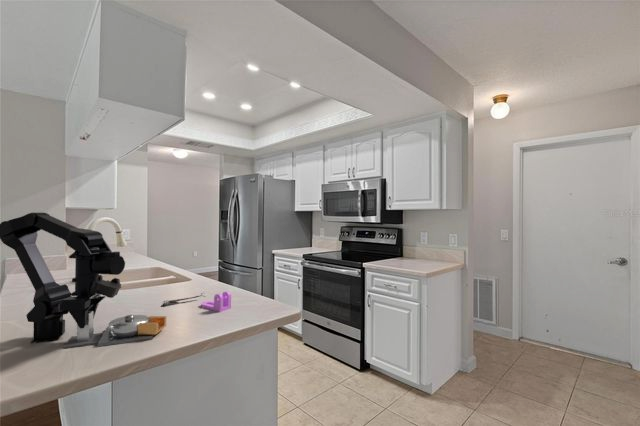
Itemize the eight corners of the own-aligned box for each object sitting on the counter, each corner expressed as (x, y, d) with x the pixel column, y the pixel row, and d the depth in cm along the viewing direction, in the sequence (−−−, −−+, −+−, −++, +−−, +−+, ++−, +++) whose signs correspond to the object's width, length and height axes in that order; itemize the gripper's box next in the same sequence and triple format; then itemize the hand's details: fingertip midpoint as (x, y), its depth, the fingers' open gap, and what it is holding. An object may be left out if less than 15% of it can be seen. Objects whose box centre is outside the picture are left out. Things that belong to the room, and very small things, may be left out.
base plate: (97, 346, 90) (97, 343, 90) (107, 329, 102) (107, 326, 102) (152, 339, 95) (152, 335, 95) (155, 323, 108) (155, 321, 108)
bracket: (230, 308, 127) (231, 291, 127) (220, 312, 122) (220, 294, 122) (208, 303, 133) (209, 287, 133) (198, 306, 129) (198, 290, 128)
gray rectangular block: (89, 340, 92) (88, 313, 92) (77, 341, 92) (77, 314, 91) (93, 336, 95) (93, 310, 95) (82, 337, 94) (82, 311, 94)
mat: (63, 348, 88) (63, 347, 88) (71, 338, 95) (71, 336, 95) (97, 344, 91) (97, 342, 91) (103, 334, 98) (103, 332, 98)
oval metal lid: (100, 337, 93) (100, 322, 93) (121, 324, 104) (121, 310, 104) (153, 336, 94) (153, 322, 94) (168, 323, 105) (168, 310, 105)
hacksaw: (162, 308, 127) (162, 304, 127) (153, 302, 134) (153, 299, 134) (217, 297, 144) (217, 294, 144) (207, 293, 151) (207, 290, 151)
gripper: (104, 278, 86) (104, 334, 86) (127, 267, 104) (127, 313, 104) (57, 280, 83) (56, 338, 84) (89, 268, 102) (89, 315, 102)
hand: (86, 324), depth 93 cm, fingers open, 5 cm apart
